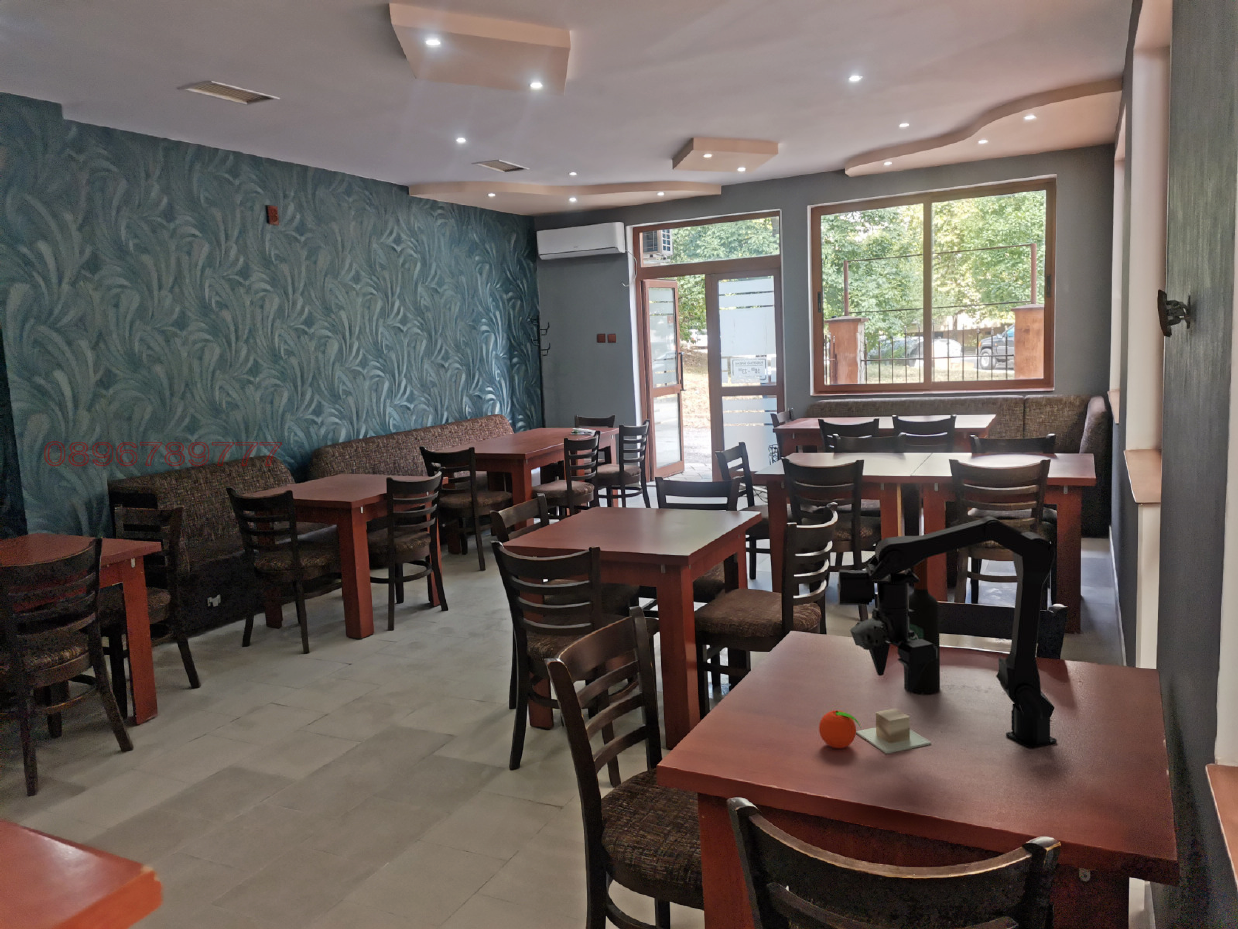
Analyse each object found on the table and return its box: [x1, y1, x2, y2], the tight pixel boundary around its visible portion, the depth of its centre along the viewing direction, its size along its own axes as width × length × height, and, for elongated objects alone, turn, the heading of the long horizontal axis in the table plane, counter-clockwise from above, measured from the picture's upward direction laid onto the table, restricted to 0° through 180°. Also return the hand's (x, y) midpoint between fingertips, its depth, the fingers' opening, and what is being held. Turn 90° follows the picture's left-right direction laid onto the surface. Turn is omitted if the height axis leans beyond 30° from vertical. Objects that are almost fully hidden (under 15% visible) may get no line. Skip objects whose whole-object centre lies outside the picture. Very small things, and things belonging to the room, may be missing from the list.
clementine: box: [818, 709, 861, 749], centre depth 168 cm, size 8×7×7 cm
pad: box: [856, 726, 932, 754], centre depth 170 cm, size 10×10×1 cm
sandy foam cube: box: [875, 708, 911, 743], centre depth 170 cm, size 4×4×4 cm
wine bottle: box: [903, 558, 941, 696], centre depth 193 cm, size 8×8×30 cm
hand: (894, 683), depth 170 cm, fingers open, 9 cm apart
